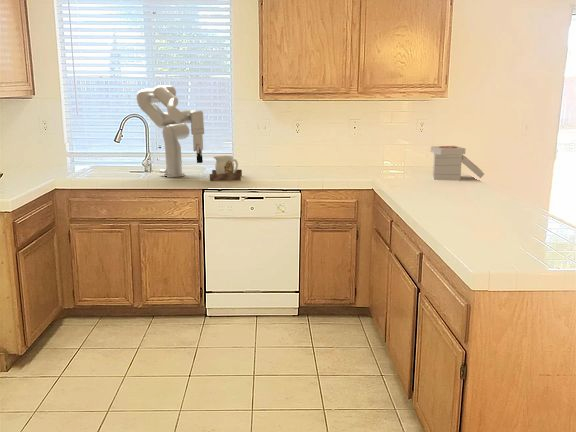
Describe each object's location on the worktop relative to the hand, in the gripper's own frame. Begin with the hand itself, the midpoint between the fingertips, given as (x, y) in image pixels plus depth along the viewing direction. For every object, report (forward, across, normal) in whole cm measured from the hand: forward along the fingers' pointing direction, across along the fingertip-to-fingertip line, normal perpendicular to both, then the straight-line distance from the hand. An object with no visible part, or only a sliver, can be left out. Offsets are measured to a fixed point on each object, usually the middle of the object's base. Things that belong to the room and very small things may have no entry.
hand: (199, 162), depth 354 cm
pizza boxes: (+14, +10, +151) cm, 152 cm away
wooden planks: (+10, -1, +15) cm, 18 cm away
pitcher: (+10, -1, +15) cm, 18 cm away
